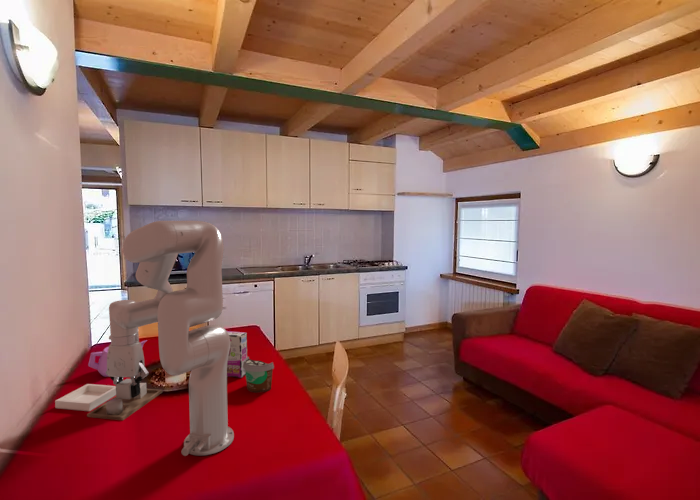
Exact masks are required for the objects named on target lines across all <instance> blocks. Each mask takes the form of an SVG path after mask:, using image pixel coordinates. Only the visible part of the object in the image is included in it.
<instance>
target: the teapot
mask: <svg viewBox="0 0 700 500" xmlns="http://www.w3.org/2000/svg"><path fill="white" fill-rule="evenodd" d="M147 341H148V340H147V339H146V340H145V339H144V340H142V341H140V343H141V346H142V348H143V347H144V344H145V343H146V342H147ZM108 348H109V346H106V347H104V349H103V350H102V351H96V352H95V351H93V352H91V353H90V356H89V361H88V364H87V366H88V367H90V368H92V369H93V370H97V371H98V373H99V374H100V375H101V376H102V377H105V378H106V377H109V376H108V375H107V374H106V371H107V354H108ZM96 357H99V359H98V362H96Z"/></svg>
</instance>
